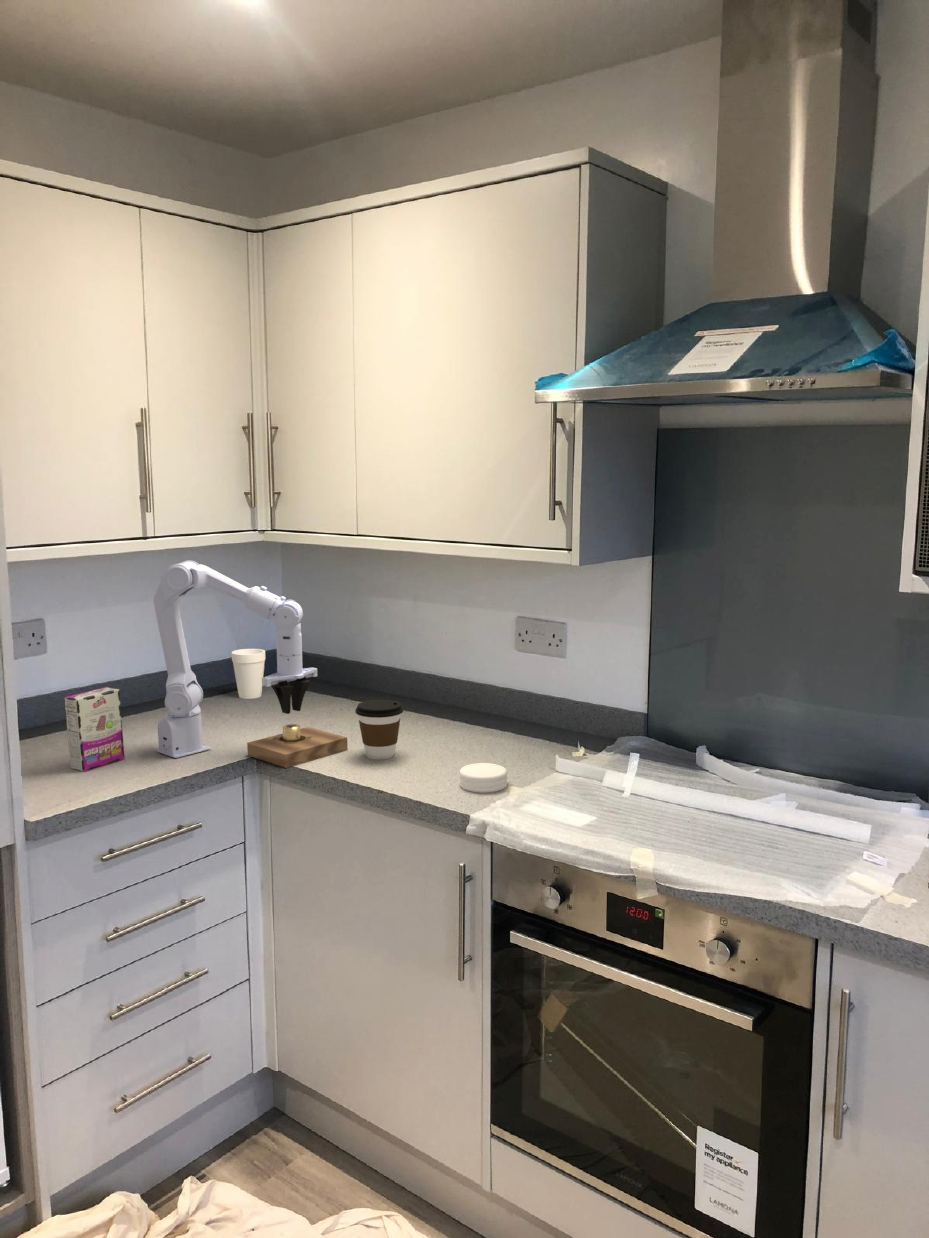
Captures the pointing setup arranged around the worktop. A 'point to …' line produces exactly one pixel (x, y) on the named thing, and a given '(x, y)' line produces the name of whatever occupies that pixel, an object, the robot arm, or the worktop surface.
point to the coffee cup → (379, 727)
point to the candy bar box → (94, 728)
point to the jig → (297, 747)
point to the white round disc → (483, 777)
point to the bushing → (291, 733)
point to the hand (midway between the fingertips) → (291, 711)
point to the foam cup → (249, 671)
